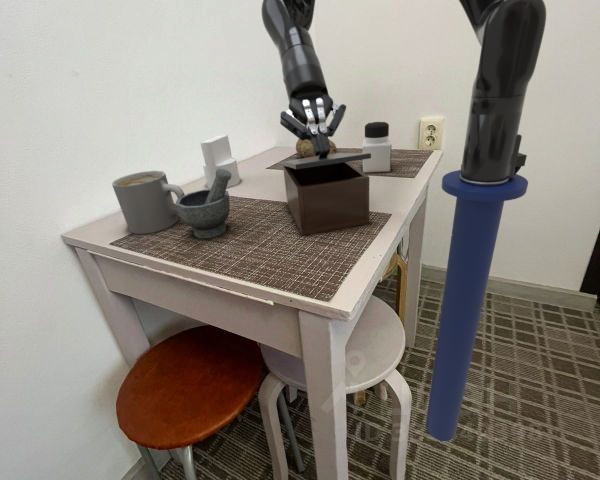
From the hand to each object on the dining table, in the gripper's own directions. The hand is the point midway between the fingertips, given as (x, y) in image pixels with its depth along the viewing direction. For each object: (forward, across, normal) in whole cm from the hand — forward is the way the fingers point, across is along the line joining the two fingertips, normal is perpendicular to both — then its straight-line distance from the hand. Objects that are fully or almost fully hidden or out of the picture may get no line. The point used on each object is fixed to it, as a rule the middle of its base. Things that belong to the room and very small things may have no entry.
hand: (323, 155), depth 58 cm
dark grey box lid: (0, 0, +3) cm, 3 cm away
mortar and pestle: (+7, -22, +11) cm, 25 cm away
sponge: (-25, +10, +42) cm, 50 cm away
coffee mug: (+1, -33, +17) cm, 37 cm away
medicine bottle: (-10, +21, +27) cm, 36 cm away
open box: (+7, 0, +10) cm, 12 cm away
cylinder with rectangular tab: (-15, -20, +33) cm, 41 cm away
